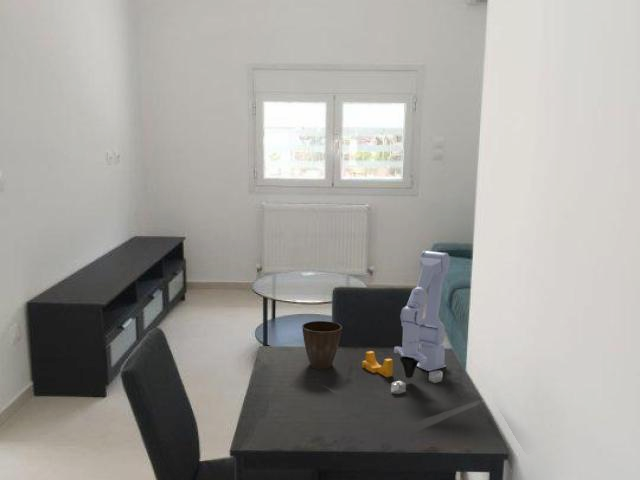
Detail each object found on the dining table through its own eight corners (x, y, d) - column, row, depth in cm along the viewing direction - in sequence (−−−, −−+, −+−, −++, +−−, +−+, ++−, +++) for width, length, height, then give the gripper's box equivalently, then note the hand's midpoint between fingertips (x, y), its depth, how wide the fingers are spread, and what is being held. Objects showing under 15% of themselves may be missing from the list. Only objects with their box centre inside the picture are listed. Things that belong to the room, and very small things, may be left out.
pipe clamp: (362, 369, 225) (362, 352, 224) (370, 367, 227) (371, 350, 227) (383, 379, 215) (384, 361, 214) (392, 376, 218) (393, 359, 217)
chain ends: (437, 377, 217) (438, 369, 217) (443, 380, 215) (444, 372, 214) (389, 391, 203) (389, 383, 203) (395, 394, 201) (395, 386, 200)
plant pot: (304, 359, 235) (305, 319, 232) (342, 361, 233) (343, 321, 230) (298, 372, 220) (298, 330, 218) (338, 375, 218) (339, 332, 216)
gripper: (388, 336, 214) (387, 373, 215) (417, 347, 202) (415, 385, 204) (402, 333, 218) (401, 369, 220) (431, 344, 206) (430, 381, 208)
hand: (409, 377), depth 212 cm, fingers closed
